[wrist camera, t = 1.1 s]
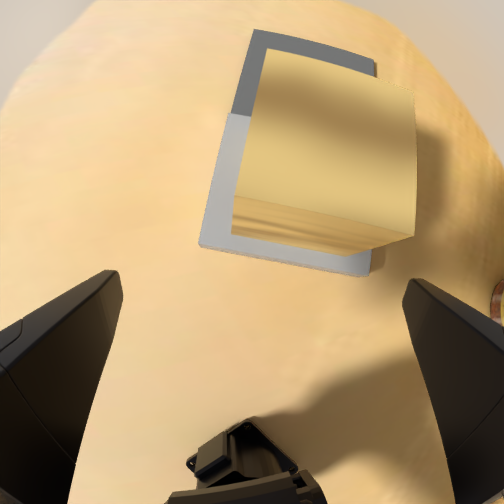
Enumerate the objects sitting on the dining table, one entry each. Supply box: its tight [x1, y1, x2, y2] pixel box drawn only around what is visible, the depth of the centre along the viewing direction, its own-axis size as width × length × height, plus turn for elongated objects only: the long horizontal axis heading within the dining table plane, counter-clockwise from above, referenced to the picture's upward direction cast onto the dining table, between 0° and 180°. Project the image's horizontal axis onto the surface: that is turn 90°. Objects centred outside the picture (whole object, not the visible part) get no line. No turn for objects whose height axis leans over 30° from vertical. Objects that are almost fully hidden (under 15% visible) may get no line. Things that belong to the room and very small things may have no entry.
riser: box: [198, 113, 372, 277], centre depth 23 cm, size 10×12×2 cm
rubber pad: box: [231, 29, 374, 117], centre depth 25 cm, size 11×12×1 cm
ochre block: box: [231, 48, 417, 257], centre depth 18 cm, size 8×8×9 cm
